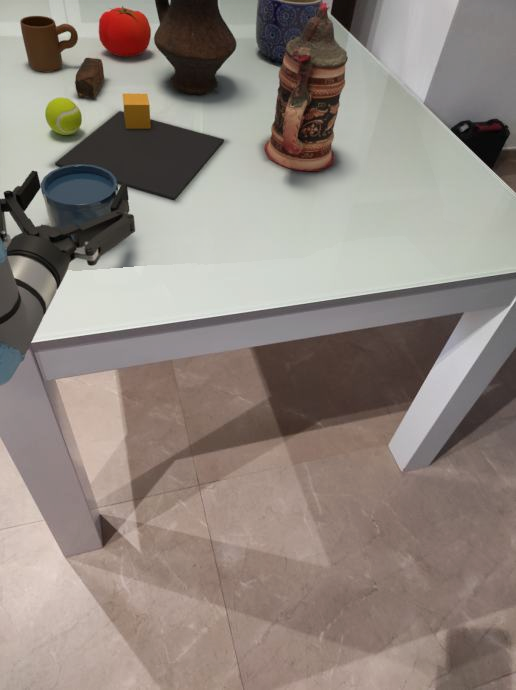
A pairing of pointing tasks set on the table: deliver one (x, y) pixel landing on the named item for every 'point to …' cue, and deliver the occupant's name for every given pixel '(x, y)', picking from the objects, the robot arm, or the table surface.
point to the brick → (89, 77)
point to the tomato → (124, 32)
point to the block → (136, 111)
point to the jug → (193, 42)
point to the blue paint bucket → (78, 194)
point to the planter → (282, 24)
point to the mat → (145, 154)
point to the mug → (45, 42)
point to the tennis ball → (63, 116)
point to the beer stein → (308, 97)
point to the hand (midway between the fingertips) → (81, 184)
